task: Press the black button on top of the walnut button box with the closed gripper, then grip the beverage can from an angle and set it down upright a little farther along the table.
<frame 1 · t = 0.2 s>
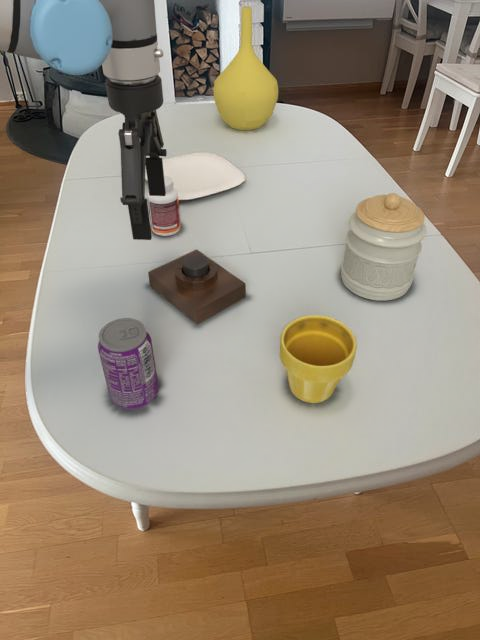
hand: (150, 215, 84), 15 cm above the table, tool pointing down, fingers open, 13 cm apart
plate: (193, 180, 126), on the table
beverage can: (134, 394, 76), on the table
button box: (197, 291, 94), on the table
vase: (245, 124, 153), on the table
pill bottle: (166, 229, 110), on the table
flower pot: (311, 387, 77), on the table
button: (195, 266, 90), point 6 cm above the table, slide at 0.1 cm
jar: (374, 281, 97), on the table
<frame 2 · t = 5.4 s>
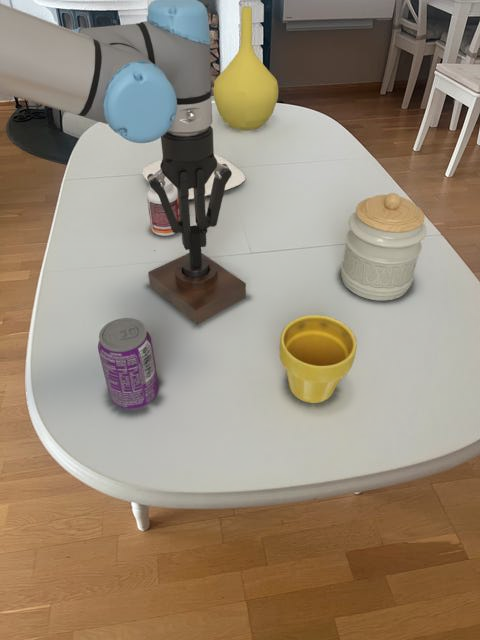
hand: (195, 262, 89), 6 cm above the table, tool pointing down, fingers closed
button: (195, 268, 90), point 5 cm above the table, slide at -0.4 cm, touching gripper
everything else where it was.
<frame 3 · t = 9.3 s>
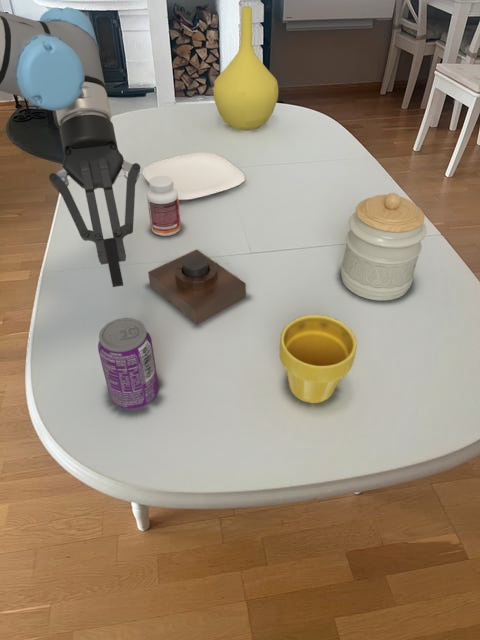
hand: (117, 284, 74), 13 cm above the table, tool tilted 45°, fingers closed
button: (195, 266, 90), point 6 cm above the table, slide at 0.1 cm
everything else where it was.
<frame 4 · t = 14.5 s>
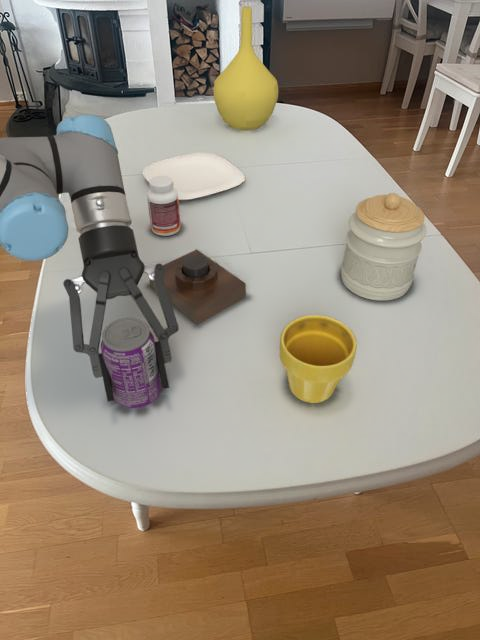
hand: (138, 393, 71), 4 cm above the table, tool tilted 45°, fingers closed on beverage can, 7 cm apart
beverage can: (137, 393, 76), on the table, touching gripper
everything else where it was.
when the fingers open (4 cm above the table, at t = 21.3 s): beverage can stays where it is, on the table.
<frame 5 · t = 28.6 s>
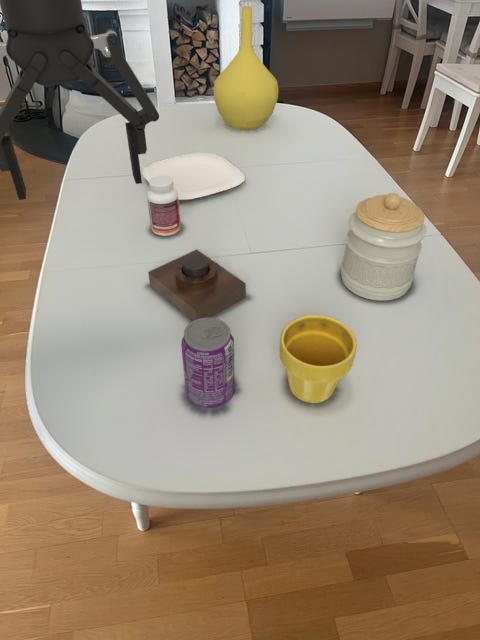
hand: (81, 186, 63), 29 cm above the table, tool pointing down, fingers open, 13 cm apart
beverage can: (210, 393, 76), on the table
everything else where it was.
at the end: button pushed in 1.0 cm at the most during the clip, back to where it started at the end; button slide at 0.1 cm; beverage can inside the target area (0.1 cm from its centre), on the table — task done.
